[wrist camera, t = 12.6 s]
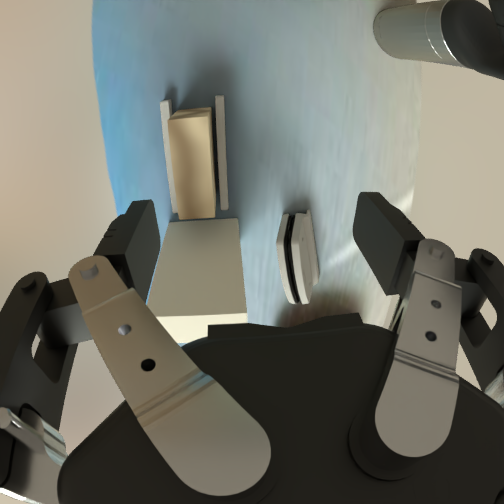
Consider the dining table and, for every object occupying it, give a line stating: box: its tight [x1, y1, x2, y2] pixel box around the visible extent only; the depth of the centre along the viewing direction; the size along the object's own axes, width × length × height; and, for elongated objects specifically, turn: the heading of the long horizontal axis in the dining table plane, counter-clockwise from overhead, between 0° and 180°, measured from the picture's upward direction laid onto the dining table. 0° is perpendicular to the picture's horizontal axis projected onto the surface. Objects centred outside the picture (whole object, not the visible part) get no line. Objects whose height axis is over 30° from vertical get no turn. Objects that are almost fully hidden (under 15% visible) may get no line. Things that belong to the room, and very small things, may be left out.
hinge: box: [276, 210, 319, 304], centre depth 53 cm, size 17×5×10 cm, turn 13°
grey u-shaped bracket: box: [147, 95, 247, 343], centre depth 38 cm, size 12×26×22 cm, turn 0°
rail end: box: [167, 107, 216, 220], centre depth 41 cm, size 5×15×9 cm, turn 1°
